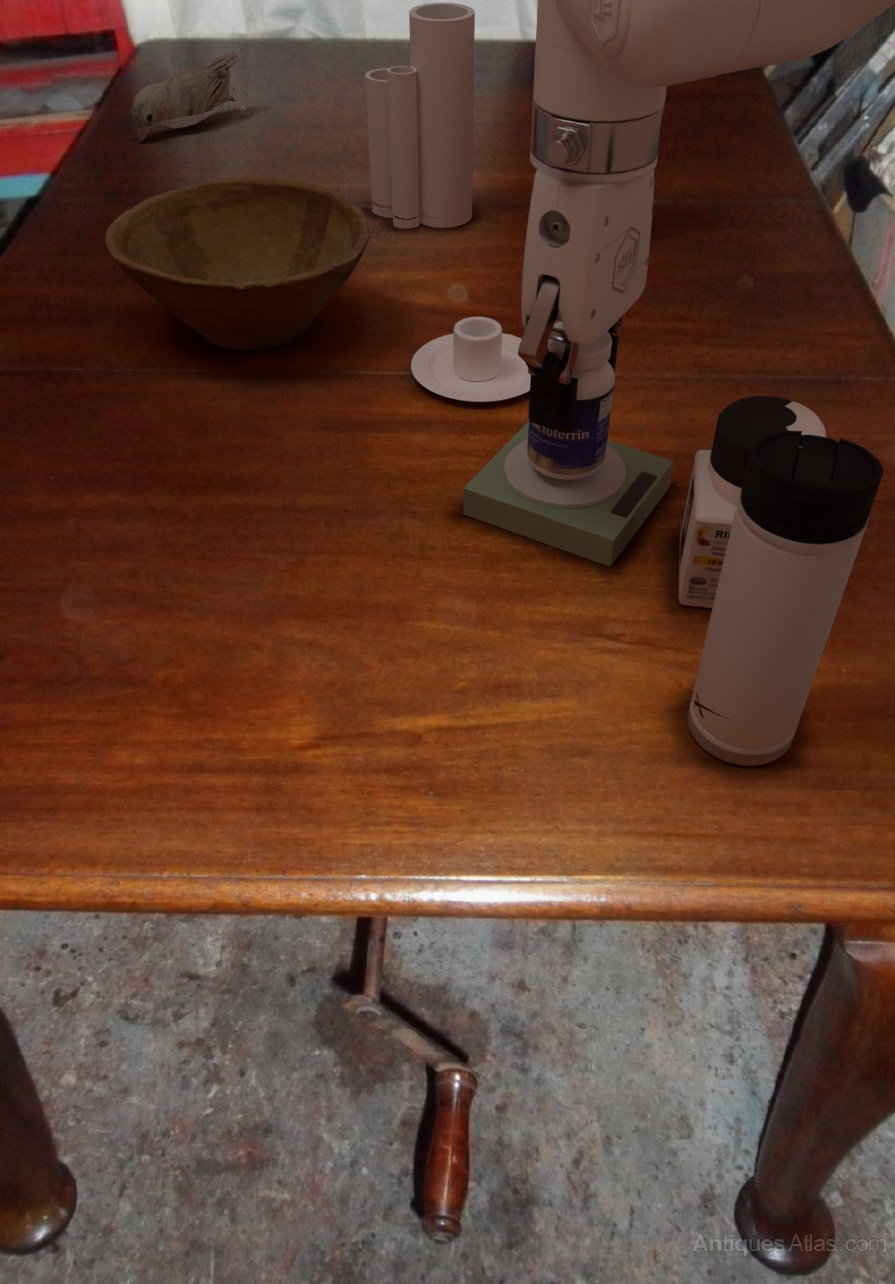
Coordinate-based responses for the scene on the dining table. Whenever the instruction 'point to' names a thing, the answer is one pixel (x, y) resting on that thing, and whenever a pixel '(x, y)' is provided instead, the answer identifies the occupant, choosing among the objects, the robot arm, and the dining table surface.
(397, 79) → the vase
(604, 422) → the pill bottle
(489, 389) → the candle holder
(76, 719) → the dining table surface
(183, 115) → the decorative bird
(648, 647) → the dining table surface
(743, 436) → the container
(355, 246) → the bowl
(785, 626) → the travel mug
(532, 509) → the scale
